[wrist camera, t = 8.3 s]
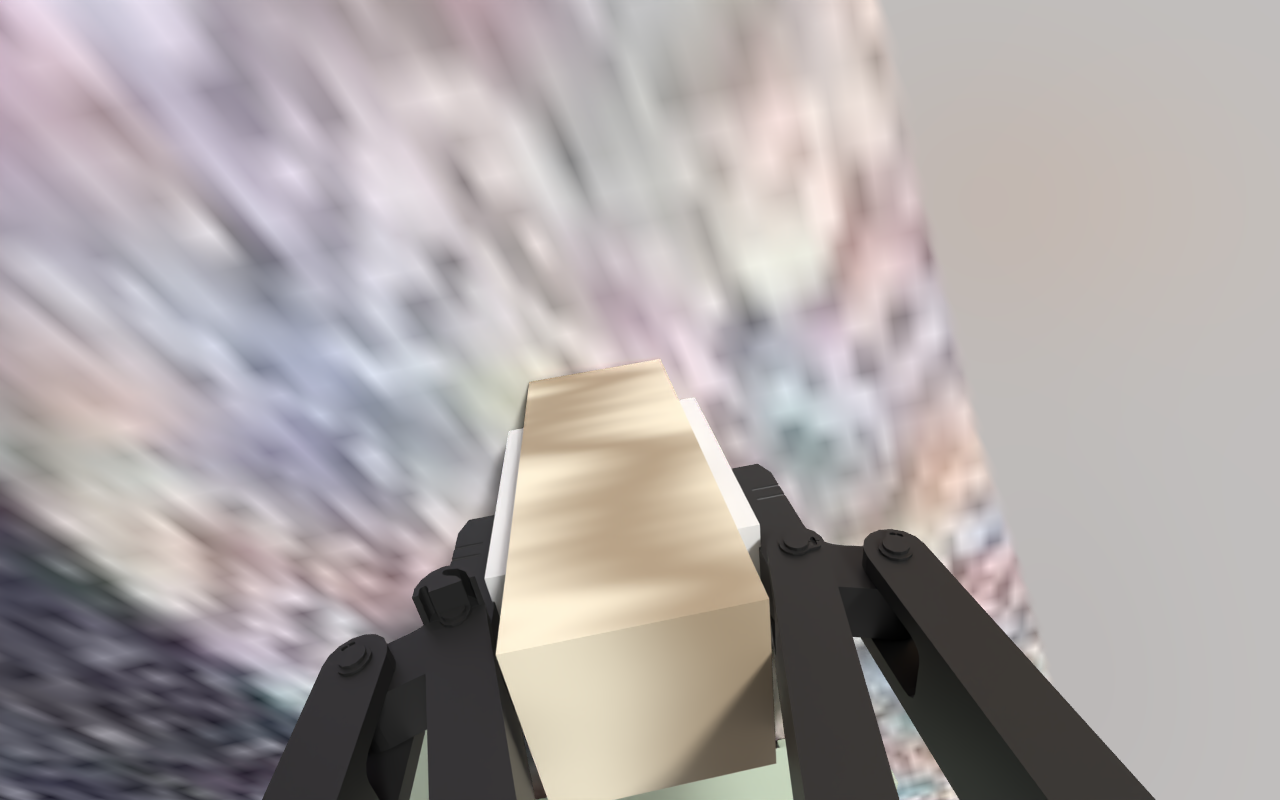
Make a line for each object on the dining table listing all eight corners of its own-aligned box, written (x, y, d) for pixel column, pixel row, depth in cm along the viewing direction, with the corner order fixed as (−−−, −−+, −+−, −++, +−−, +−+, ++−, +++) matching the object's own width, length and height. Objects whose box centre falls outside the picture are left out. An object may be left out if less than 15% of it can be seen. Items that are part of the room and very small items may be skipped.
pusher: (612, 721, 27) (643, 1064, 17) (529, 381, 19) (495, 654, 9) (704, 701, 27) (787, 1027, 17) (660, 358, 19) (769, 599, 9)
